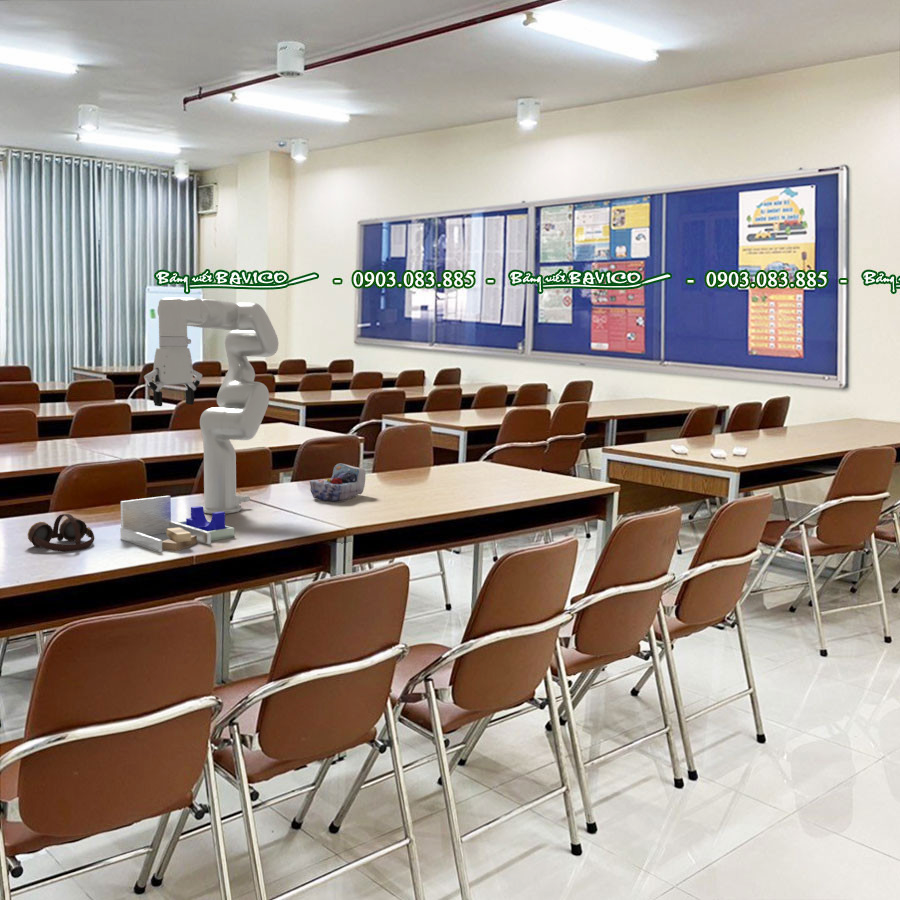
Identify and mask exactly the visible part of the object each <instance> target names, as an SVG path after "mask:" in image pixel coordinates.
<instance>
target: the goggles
mask: <svg viewBox="0 0 900 900" xmlns="http://www.w3.org/2000/svg"><path fill="white" fill-rule="evenodd" d="M64 516H65V517H66V519H64V520H63V521H62V522H61V520H62V519H63V517H64ZM60 522H61V524H60ZM85 536H86V537H87V538H90V539H89V540H86V541H84V542H82V539H83V538H84V537H85ZM27 538H28V540H29V542H30V543H31V544H33V546H34V547H35V548H37V547H38V548H43V549H46V550H49V551H54V552H62V553H63V552H75V551H81V550H85V549H88V548H90V547H91V546H92V545H93V544H94V541H95V539H96V538H95V534H94V532H93V530H92V528H91V527H87V524H86V523H85V521H83V520H82V519H79V518H77V517H76V516H73V515H71V514H70V513H63V514H60V515H58V516H57V517H56V518H55V521H54V523H53V527H52V526H51V525H50V524H48V523H46V522H45V521H39V522H38V521H37V522H34V524H33V525H32V526H30V527H29V529H28V532H27ZM52 539H57V541H58V542H62V541H63V540H66V541H67V542H71V544H62V543H54V542H51V540H52ZM72 542H75V543H74V544H73V543H72Z"/></svg>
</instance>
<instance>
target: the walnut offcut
mask: <svg viewBox="0 0 900 900" xmlns="http://www.w3.org/2000/svg"><path fill="white" fill-rule="evenodd" d="M197 543H198V541H197V536H195V535H191V541H184V542H176V541H175V540H173V539H171V538H167V539H165V540H162V551H168V552H178V551H180V550H184V549H186V548H188V547H190V546H193V545H195V544H197Z"/></svg>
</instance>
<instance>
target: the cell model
mask: <svg viewBox="0 0 900 900" xmlns="http://www.w3.org/2000/svg"><path fill="white" fill-rule="evenodd" d="M366 476H367V475H366V469H365V468H362V467H357V466H354V465H353V466H352V465H350V464H346V463H337V464H336V465H334V467H333V471H332V476H331V478H323V479H322V478H320V479H312V480H309V484H310V490H309V491H310V493H311V495H312V498H313V499H317V500H319V501H322V502H335V503H336V502H337V503H339V502H345V501H348V500H349V499H352V498H356V497H357V496H358V495H361V494H363V492H364V490H365V487H366V486H365V485H366Z"/></svg>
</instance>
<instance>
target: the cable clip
mask: <svg viewBox="0 0 900 900" xmlns="http://www.w3.org/2000/svg"><path fill="white" fill-rule="evenodd" d="M207 520H208V519H207V517H206V515H205V513H204V510H203V506H202V505H196V506H191V507H190V517H189V518H185V521H186V525H188V526H191V527H195V528H198V529H201V530H205V531H213V530H220V529H225V525H226V514H225V512H222V511H221V512H214V513H212V514H211V520H210V521H211V522H210V523H209V522H208V521H209V520H208V521H207Z"/></svg>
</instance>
